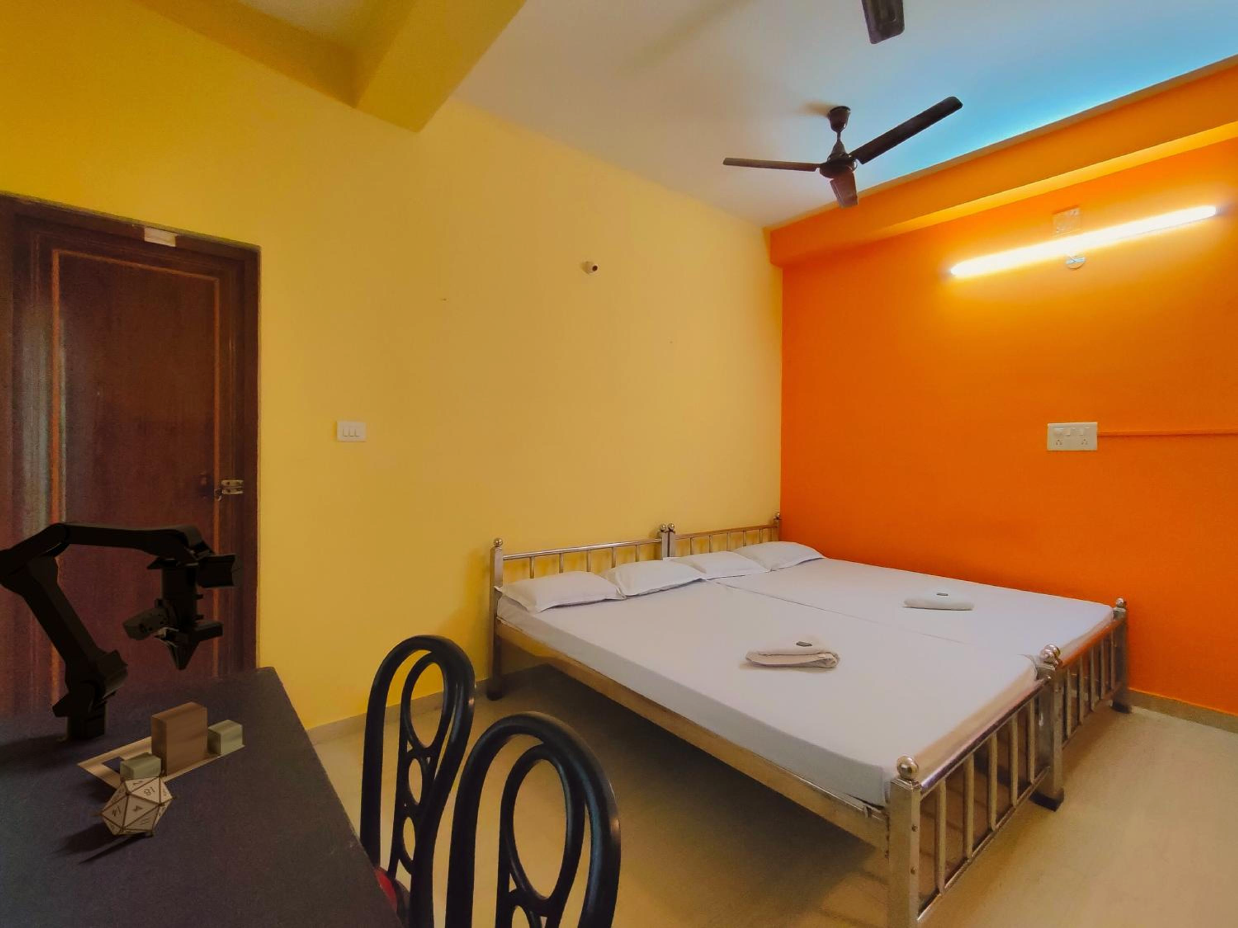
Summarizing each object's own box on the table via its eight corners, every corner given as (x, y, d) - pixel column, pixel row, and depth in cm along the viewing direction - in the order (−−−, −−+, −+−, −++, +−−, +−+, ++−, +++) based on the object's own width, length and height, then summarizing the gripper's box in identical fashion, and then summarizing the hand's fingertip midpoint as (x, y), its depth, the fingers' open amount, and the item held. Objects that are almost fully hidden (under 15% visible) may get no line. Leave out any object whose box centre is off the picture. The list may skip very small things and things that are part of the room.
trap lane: (77, 770, 95) (76, 740, 95) (190, 727, 110) (190, 701, 110) (130, 804, 86) (130, 771, 86) (245, 751, 102) (245, 724, 101)
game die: (138, 865, 79) (114, 839, 73) (94, 835, 81) (67, 807, 75) (198, 803, 86) (181, 775, 80) (156, 777, 88) (137, 747, 82)
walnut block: (151, 767, 94) (151, 715, 94) (191, 750, 99) (191, 701, 99) (166, 776, 92) (166, 722, 92) (207, 758, 97) (207, 707, 97)
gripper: (103, 594, 105) (105, 676, 105) (156, 606, 97) (158, 695, 97) (171, 582, 115) (173, 656, 115) (225, 592, 107) (226, 672, 107)
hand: (181, 669), depth 108 cm, fingers closed
